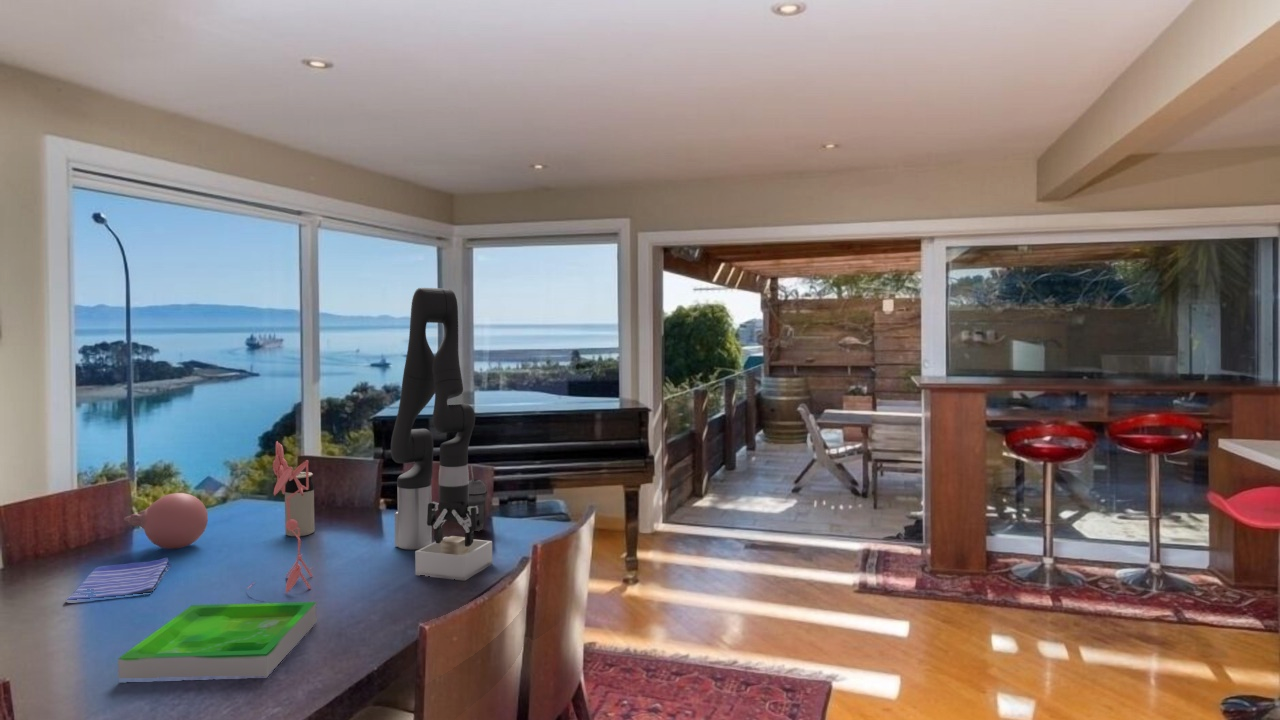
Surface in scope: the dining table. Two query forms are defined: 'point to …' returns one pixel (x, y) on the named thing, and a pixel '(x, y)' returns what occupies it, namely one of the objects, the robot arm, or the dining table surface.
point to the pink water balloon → (172, 520)
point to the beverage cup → (477, 497)
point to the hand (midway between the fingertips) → (453, 544)
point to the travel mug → (300, 505)
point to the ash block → (454, 546)
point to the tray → (220, 641)
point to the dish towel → (123, 579)
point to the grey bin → (453, 561)
